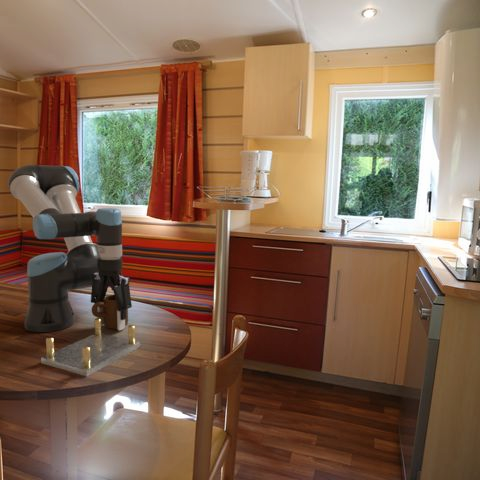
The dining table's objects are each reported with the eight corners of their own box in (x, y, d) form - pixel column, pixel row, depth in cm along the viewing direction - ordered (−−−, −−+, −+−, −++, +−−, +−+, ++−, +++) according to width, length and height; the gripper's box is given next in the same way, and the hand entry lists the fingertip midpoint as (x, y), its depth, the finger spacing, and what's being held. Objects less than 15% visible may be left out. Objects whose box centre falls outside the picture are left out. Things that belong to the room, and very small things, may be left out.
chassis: (41, 363, 104) (40, 339, 103) (98, 337, 122) (97, 316, 121) (86, 376, 97) (85, 351, 96) (140, 346, 115) (139, 325, 114)
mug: (98, 335, 122) (97, 305, 121) (86, 328, 127) (85, 300, 126) (132, 325, 131) (132, 297, 129) (120, 319, 136) (119, 292, 134)
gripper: (76, 256, 126) (79, 324, 129) (127, 263, 118) (128, 336, 121) (94, 252, 133) (96, 317, 136) (143, 259, 124) (144, 328, 128)
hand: (111, 326), depth 129 cm, fingers closed on mug, 7 cm apart
